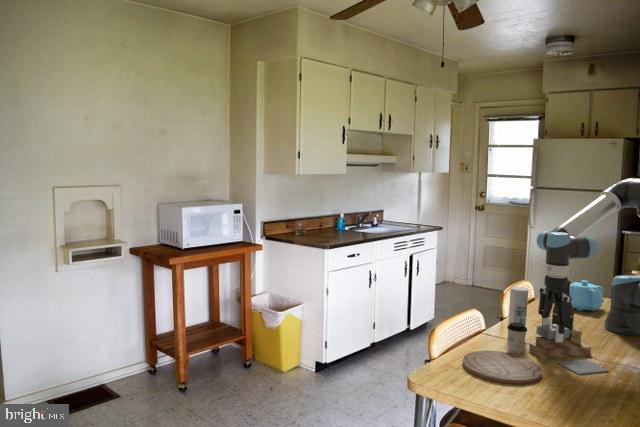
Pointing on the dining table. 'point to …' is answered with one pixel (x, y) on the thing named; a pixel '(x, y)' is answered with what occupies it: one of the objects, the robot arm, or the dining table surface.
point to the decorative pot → (586, 296)
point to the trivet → (502, 367)
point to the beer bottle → (570, 326)
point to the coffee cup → (516, 337)
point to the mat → (582, 367)
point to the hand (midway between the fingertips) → (552, 338)
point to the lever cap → (550, 331)
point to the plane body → (560, 347)
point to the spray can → (518, 305)
